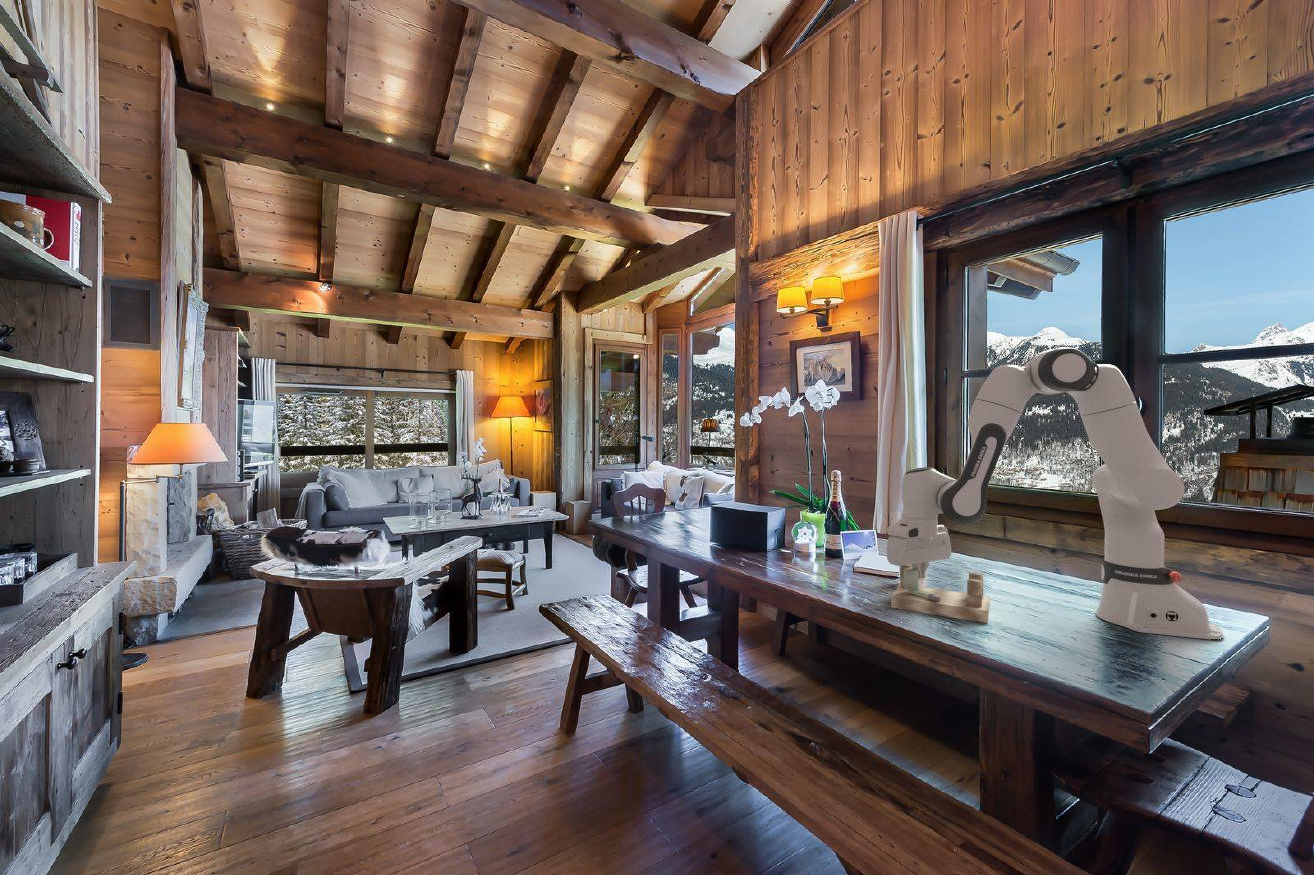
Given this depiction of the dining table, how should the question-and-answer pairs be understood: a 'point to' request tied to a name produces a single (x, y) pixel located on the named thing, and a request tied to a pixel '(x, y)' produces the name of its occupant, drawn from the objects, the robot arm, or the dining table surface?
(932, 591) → the wooden base with posts
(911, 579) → the folding leg
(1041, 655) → the dining table surface
